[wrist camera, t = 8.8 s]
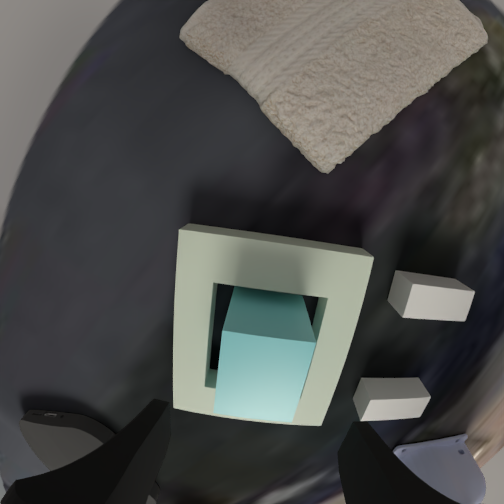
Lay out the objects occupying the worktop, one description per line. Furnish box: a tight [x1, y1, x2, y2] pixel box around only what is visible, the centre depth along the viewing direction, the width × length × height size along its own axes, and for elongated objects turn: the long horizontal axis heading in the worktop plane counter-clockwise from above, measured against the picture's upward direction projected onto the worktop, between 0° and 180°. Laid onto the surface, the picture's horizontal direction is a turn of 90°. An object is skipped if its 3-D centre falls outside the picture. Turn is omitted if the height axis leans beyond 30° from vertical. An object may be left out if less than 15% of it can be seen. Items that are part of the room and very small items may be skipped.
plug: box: [213, 286, 316, 422], centre depth 16 cm, size 4×5×6 cm
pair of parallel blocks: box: [353, 270, 475, 421], centre depth 17 cm, size 5×10×2 cm, turn 172°
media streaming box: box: [19, 410, 160, 504], centre depth 22 cm, size 15×15×3 cm
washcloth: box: [179, 0, 488, 174], centre depth 12 cm, size 12×18×3 cm, turn 133°
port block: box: [173, 223, 374, 426], centre depth 17 cm, size 10×12×2 cm
